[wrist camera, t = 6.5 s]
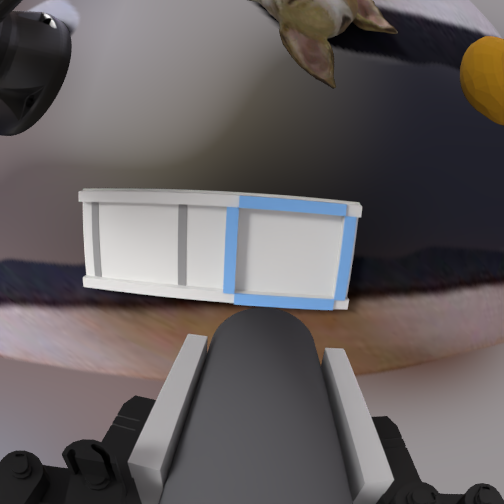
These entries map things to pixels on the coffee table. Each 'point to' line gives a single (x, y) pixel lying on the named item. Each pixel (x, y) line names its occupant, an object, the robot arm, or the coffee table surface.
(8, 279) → the coffee table surface
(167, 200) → the white divided tray
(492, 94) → the apple
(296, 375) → the grey and white cylinder
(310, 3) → the ceramic sculpture
